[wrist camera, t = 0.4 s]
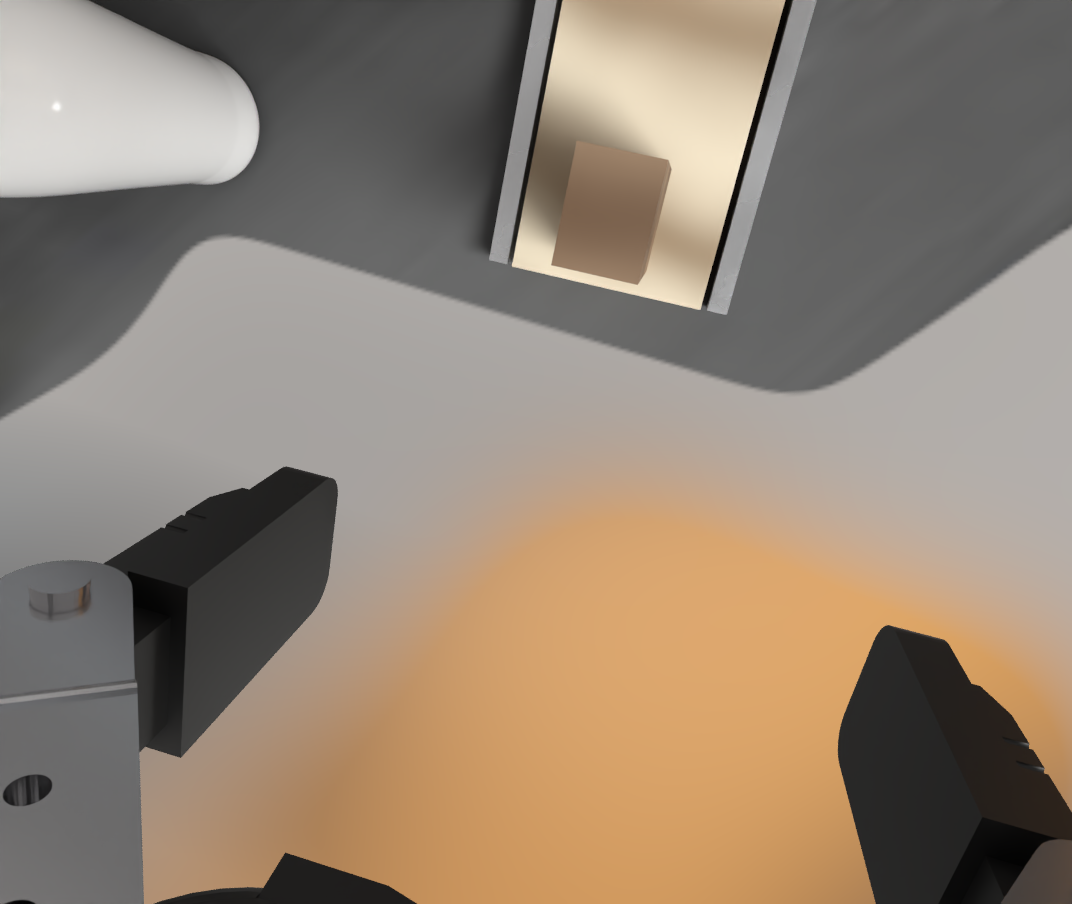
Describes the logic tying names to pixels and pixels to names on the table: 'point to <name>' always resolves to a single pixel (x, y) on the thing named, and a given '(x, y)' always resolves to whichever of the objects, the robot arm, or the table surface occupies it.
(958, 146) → the table surface
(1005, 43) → the table surface
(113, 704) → the robot arm
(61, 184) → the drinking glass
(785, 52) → the guide rails
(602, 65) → the birch strip
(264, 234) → the table surface
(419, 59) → the table surface
